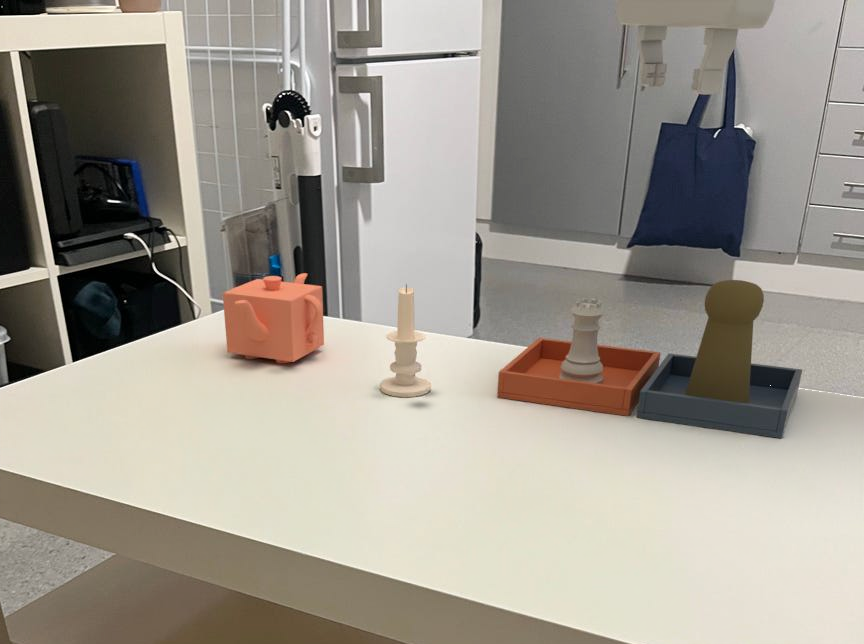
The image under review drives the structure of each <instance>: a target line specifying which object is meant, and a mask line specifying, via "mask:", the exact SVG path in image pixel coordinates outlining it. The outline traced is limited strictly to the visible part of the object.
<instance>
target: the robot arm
mask: <svg viewBox="0 0 864 644" xmlns="http://www.w3.org/2000/svg"><path fill="white" fill-rule="evenodd" d="M775 2H776V0H615V10H616V11H615V12H616V15H617V20H618V23H619V24H620V25H623V26H637V34H636V45H637V50H638V57H639V62H640V71H639V80H638V83H639V84H640V85H641V86H643V87H648V88H649V87H651V88H652V87H662V86H663V85H664V84H665V81H666V73H667V69H668V68H667V67H668V63H666V62H665V63H664V55H663V54H664V53H663V41H666V38H667V32H668V31H667V30H668V27H671V28H672V27H673V28H675V27H677V28H700V29H704V35H703V36H704V38H703V45H705V46H706V47H705V50H704V53H703V56H702V59H701V61H700V65H699V68H694V69H693V75H692V80H693V82H692V84H691V91H692V92H693V93H694V94H698V95H717V94H718V93H719V92H720V90H721V85H722V79H723V72H724V70H725V68H726V66H727V64H728V62H729V61H730V58H731V56H732V53H733V52H734V50H735V48H736V46H737V41H738V34H739V30H752V29H753V30H754V29H755V30H756V29H762V28H764V27H765V26H766V25H767V22H768V21H769V19H770V17H771V16H772V13H773V11H774V6H775Z"/></svg>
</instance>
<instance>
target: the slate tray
mask: <svg viewBox="0 0 864 644" xmlns="http://www.w3.org/2000/svg"><path fill="white" fill-rule="evenodd" d="M696 357H697V356H693V355H685V354H677V353H668V354H667V355H666V356H665V358H664V359H663V360H662V362H661V363H659V367H658V368H657V370H656V371H655V372H654V374H653V375H652V376H651V378H650V379H649V380H648V382H647V383H646V384H645V386H644V387H643V388H642V390H641V391H640V396H639V402H638V403H637V412H636V418H638V419H643V420H644V419H645V420H653V421H659V422H666V423H672V424H678V425H679V424H680V425H686V426H694V427H699V428H700V427H701V428H706V429H707V428H708V429H713V430H714V429H715V430H721V431H728V432H733V433H742V434H748V435H754V436H755V435H756V436H763V437H768V438H769V437H770V438H777V439H783V435H784V433H785V430H786V427H787V425H788V421H789V419H790V416H791V414H792V410H793V407H794V404H795V402H796V398H797V396H798V393H799V387H800V383H801V378H802V374H803V373H802V372H803V369H802V368H801V369H800V368H794V367H785V366H776V365H769V364H761V363H752V362H751V372H750V389H749V402H748V404H747V403H740V402H733V401H725V400H718V399H710V398H703V397H695V396H688V395H685V393H686V390H687V387H688V384H689V380H690V377H691V374H692V370H693V367H694V364H695V360H696ZM770 385H771V386H770Z"/></svg>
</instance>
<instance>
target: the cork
mask: <svg viewBox="0 0 864 644" xmlns="http://www.w3.org/2000/svg"><path fill="white" fill-rule="evenodd" d="M764 296H765V295H764V292H763V289H762V287H760V286H759V285H758V284H756V283H755V282H750V281H748V280H747V281H746V280H741V279H727V280H720V281H717V282H715V283H713V284H712V285H711V286H710V287H709V289H708V291H707V293H706V295H705V298H704V310H705V311H704V312H705V313H706V315H707V317H708V318H707V321H706V324H705V328H704V330H703V333H702V337H701V341H700V344H699V348H698V351H697V354H696V356H695V357H696V360H695V364H694V367H693V370H692V374H691V377H690V380H689V384H688V387H687V390H686V393H685V395H688V396H695V397H703V398H710V399H718V400H725V401H733V402H740V403H747V404H748V402H749V389H750V372H751V363H752V354H753V353H752V352H753V336H754V335H753V334H754V321H755V320H756V319H757V318H758V317H759V316H760V313H761V311H762V309H763V307H764V301H765V297H764Z"/></svg>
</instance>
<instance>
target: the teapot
mask: <svg viewBox="0 0 864 644" xmlns="http://www.w3.org/2000/svg"><path fill="white" fill-rule="evenodd" d="M308 276H309V275H308V273H306V272H303V273H300V274H298V275H297V276H295V278H294V280H293V282H289V281H282V280H283V279H282V277H281V276H278V275H267V276H265V277H262V278H256V279H253V280H251V281H249V282H246V283H243V284H241V285H238V286H235V287H233V288H231V289H229V290H226V291H224V292H223V293H222V303H223V316H224V325H225V326H224V327H225V338H226V349H227V351H226V352H227V353H228V354H236V355H242V356H245V359H247V360H256V359H260V358H264V359H268V360H269V359H270V360H275V363H277V364H289V363H291V362H292V363H294V362H296V361H297V360H299V359H301V358H303V357H305V356H306V355H308V354H310V353H312V352H314V351H316V350H318V349H319V348H322V347H323V346H324V345H325V330H324V329H325V328H324V300H323V286H321V285H315V284H305V280H306V279H307V277H308Z"/></svg>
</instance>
